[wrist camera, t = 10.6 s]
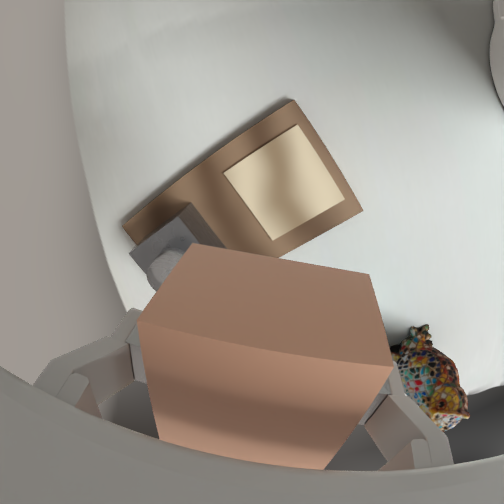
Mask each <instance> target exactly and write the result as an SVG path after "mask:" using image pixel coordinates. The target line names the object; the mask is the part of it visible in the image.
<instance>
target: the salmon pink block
mask: <svg viewBox="0 0 504 504" xmlns="http://www.w3.org/2000/svg"><path fill="white" fill-rule="evenodd" d="M137 327H138V333H139V340H140V346H141V352H142V358H143V364H144V369H145V375H146V380H147V385H148V390H149V394H150V400H151V404H152V409H153V413H154V417H155V421H156V426H157V430H158V434H159V438H160V440H162V441H166V442H169V443H172V444H176V445H179V446H183V447H187V448H191V449H194V450H198V451H202V452H207V453H211V454H215V455H220V456H225V457H230V458H235V459H240V460H245V461H251V462H257V463H264V464H271V465H278V466H286V467H295V468H305V469H318V470H323V469H324V468H325V467H326V465H327V464H328V463H329V462H330V460H331V459H332V458H333V457H334V455H335V454H336V453H337V452H338V450H339V449H340V448H341V446H342V445H343V444H344V442H345V441H346V440H347V438H348V437H349V435H350V434H351V433H352V431H353V430H354V428H355V427H356V426H357V424H358V423H359V421H360V420H361V419H362V417H363V416H364V414H365V413H366V411H367V410H368V408H369V407H370V405H371V404H372V402H373V401H374V399H375V397H376V396H377V394H378V393H379V391H380V390H381V388H382V386H383V385H384V383H385V381H386V380H387V378H388V376H389V375H390V373H391V371H392V370H393V368H394V365H393V360H392V356H391V352H390V348H389V344H388V340H387V336H386V332H385V328H384V324H383V321H382V317H381V313H380V310H379V306H378V303H377V299H376V296H375V293H374V289H373V286H372V283H371V279H370V276H369V274H364V273H359V272H353V271H347V270H342V269H336V268H331V267H325V266H319V265H314V264H308V263H302V262H297V261H291V260H286V259H280V258H274V257H269V256H263V255H257V254H252V253H246V252H241V251H235V250H229V249H224V248H218V247H213V246H207V245H201V244H196V243H192V244H191V245H190V247H189V248H188V249H187V251H186V252H185V253H184V255H183V256H182V258H181V259H180V260H179V262H178V263H177V264H176V266H175V267H174V268H173V270H172V271H171V272H170V274H169V275H168V277H167V278H166V279H165V281H164V282H163V283H162V285H161V286H160V288H159V289H158V290H157V292H156V293H155V295H154V296H153V297H152V299H151V300H150V302H149V303H148V305H147V306H146V307H145V309H144V310H143V312H142V313H141V315H140V316H139V317H138V319H137Z"/></svg>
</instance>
